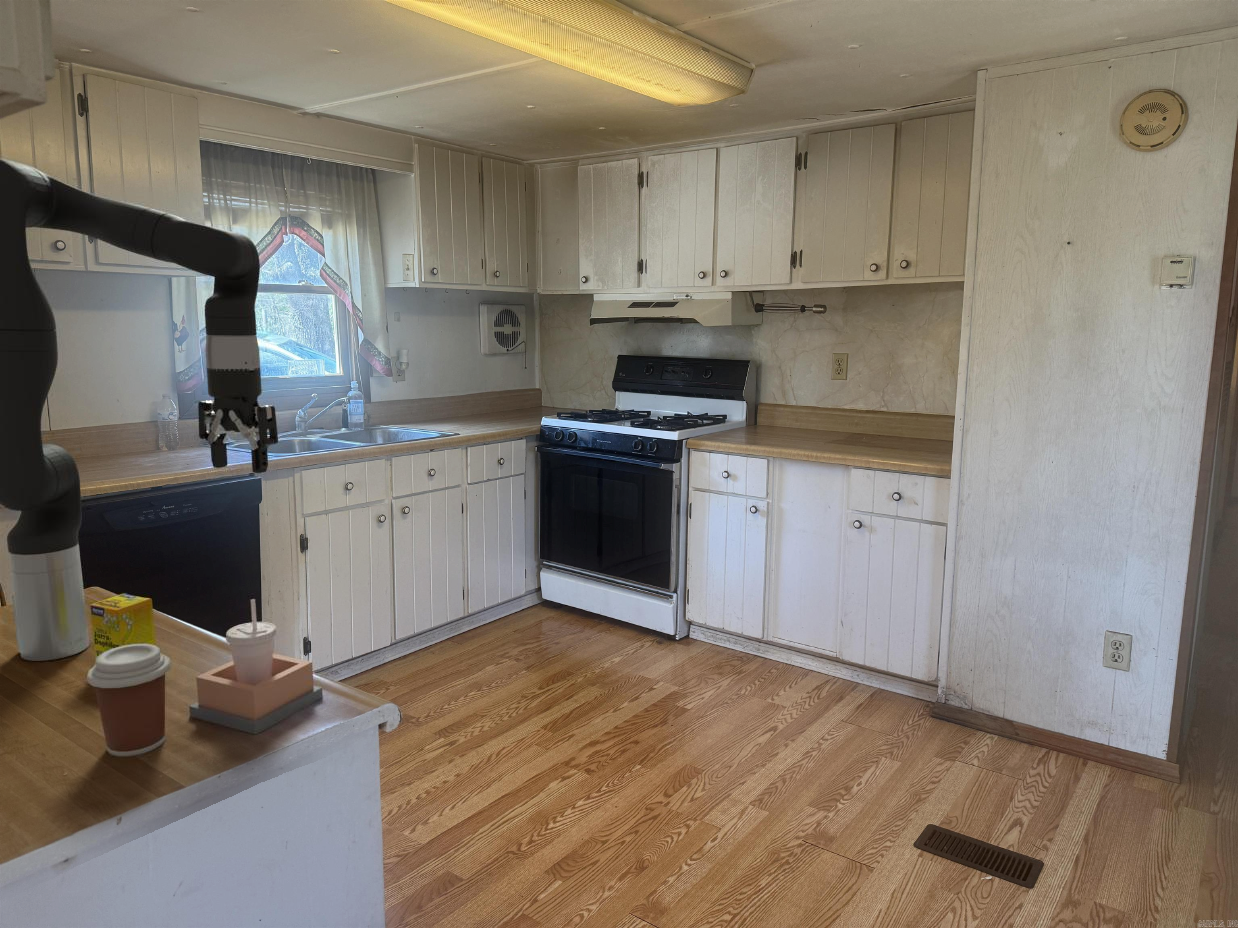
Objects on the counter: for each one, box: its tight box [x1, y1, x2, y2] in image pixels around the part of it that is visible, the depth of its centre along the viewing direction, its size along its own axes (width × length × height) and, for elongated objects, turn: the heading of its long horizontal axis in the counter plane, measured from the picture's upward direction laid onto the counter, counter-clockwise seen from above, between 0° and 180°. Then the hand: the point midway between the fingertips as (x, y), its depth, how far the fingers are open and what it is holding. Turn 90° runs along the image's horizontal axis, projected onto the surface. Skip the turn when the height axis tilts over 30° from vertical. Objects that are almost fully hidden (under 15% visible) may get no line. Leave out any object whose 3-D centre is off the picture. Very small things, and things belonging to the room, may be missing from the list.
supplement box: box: [89, 592, 157, 661], centre depth 129 cm, size 6×6×11 cm
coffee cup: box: [86, 644, 171, 757], centre depth 107 cm, size 9×9×12 cm
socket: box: [188, 652, 324, 735], centre depth 117 cm, size 12×12×6 cm
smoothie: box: [225, 598, 278, 686], centre depth 117 cm, size 6×6×14 cm
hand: (239, 469), depth 132 cm, fingers open, 8 cm apart
